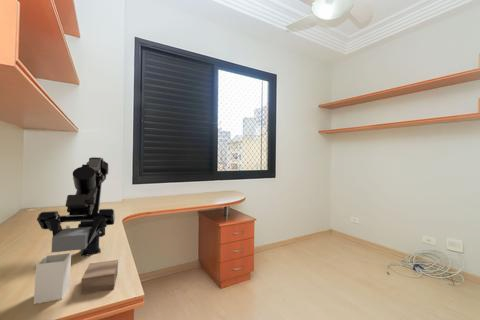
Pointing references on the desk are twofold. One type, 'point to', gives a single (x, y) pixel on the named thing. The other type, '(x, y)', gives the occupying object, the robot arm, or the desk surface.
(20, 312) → the desk surface
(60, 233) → the gray block
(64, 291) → the white open box
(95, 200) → the robot arm
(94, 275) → the walnut block
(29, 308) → the desk surface
